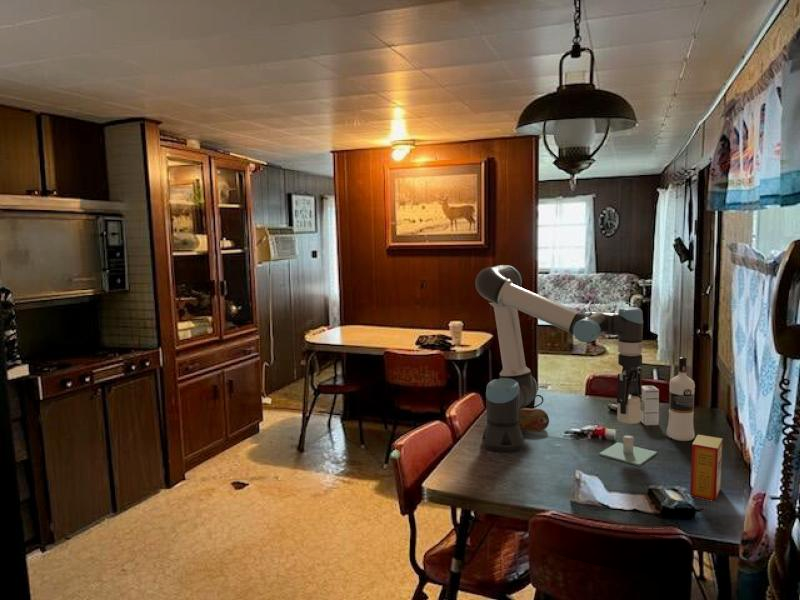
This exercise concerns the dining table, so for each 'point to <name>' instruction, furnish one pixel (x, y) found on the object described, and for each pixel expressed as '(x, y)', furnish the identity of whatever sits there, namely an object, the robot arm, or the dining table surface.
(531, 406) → the coffee mug
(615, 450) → the base
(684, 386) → the vodka
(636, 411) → the cap
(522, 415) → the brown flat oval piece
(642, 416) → the syrup box
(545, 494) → the dining table surface
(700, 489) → the baking soda box
